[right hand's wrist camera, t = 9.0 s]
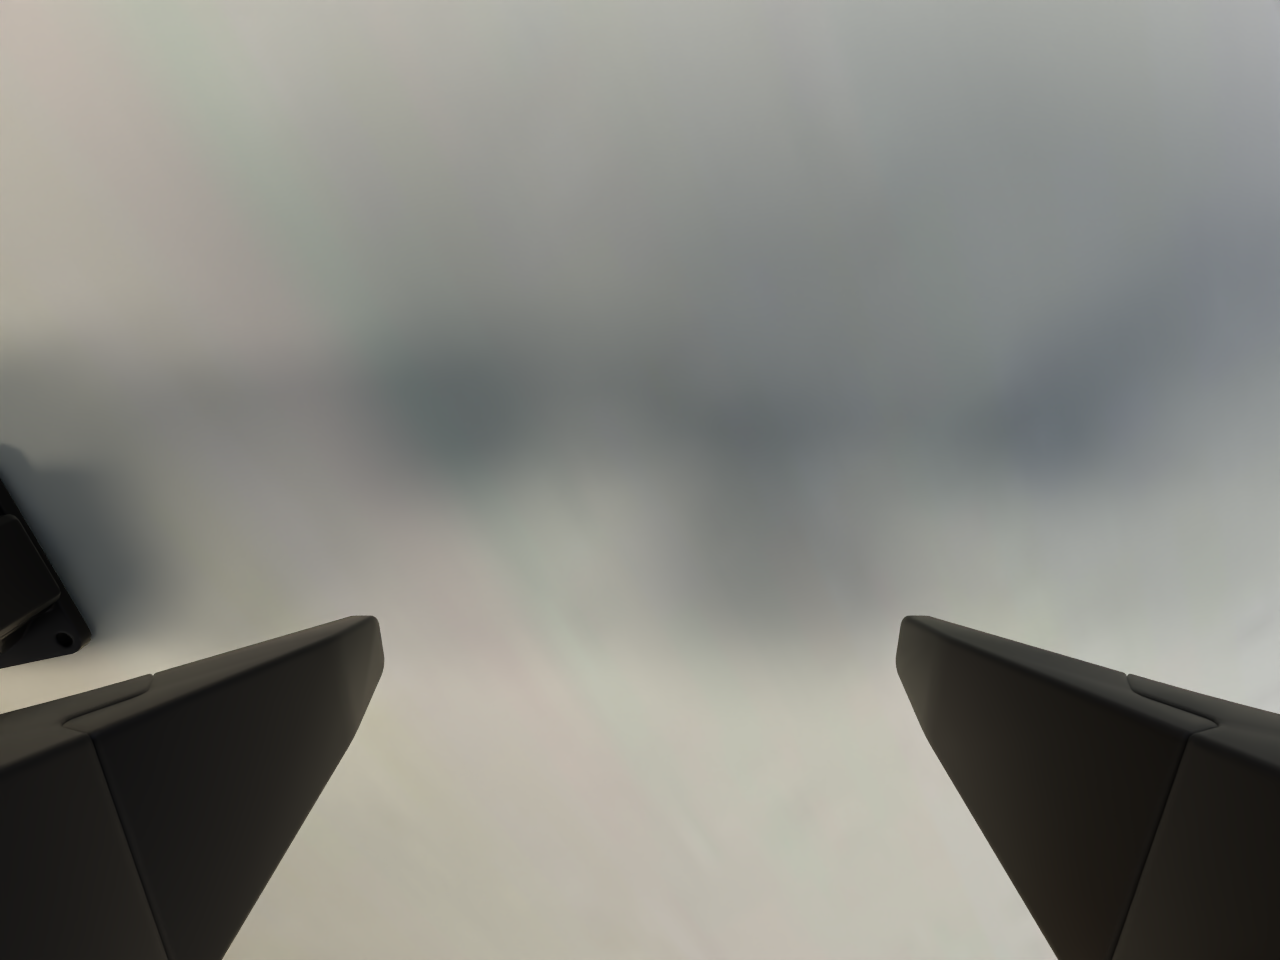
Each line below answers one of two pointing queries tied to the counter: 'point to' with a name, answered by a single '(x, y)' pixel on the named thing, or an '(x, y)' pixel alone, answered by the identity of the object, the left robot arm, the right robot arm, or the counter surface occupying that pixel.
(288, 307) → the counter surface
